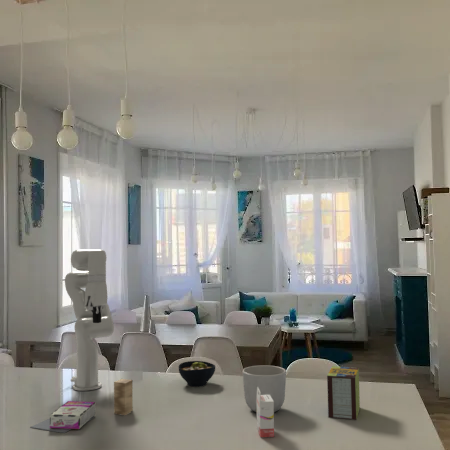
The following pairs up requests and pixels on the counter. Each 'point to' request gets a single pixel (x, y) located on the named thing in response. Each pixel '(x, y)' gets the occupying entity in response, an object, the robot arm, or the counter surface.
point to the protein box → (343, 392)
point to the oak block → (123, 397)
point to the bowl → (196, 372)
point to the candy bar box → (72, 415)
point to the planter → (264, 384)
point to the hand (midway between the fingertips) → (96, 322)
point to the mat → (46, 426)
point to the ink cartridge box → (265, 415)
